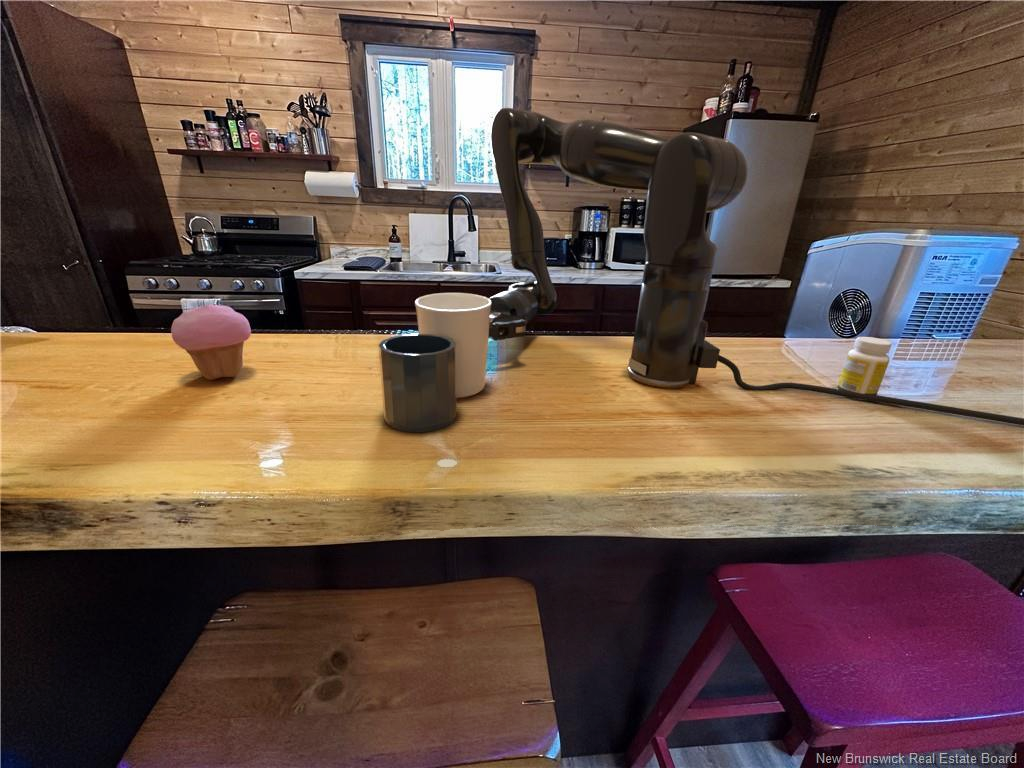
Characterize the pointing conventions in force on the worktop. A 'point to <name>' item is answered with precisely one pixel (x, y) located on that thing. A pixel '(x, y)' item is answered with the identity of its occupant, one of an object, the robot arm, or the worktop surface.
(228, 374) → the cupcake
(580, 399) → the worktop surface
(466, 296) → the cream tumbler
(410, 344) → the cup
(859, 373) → the supplement bottle
